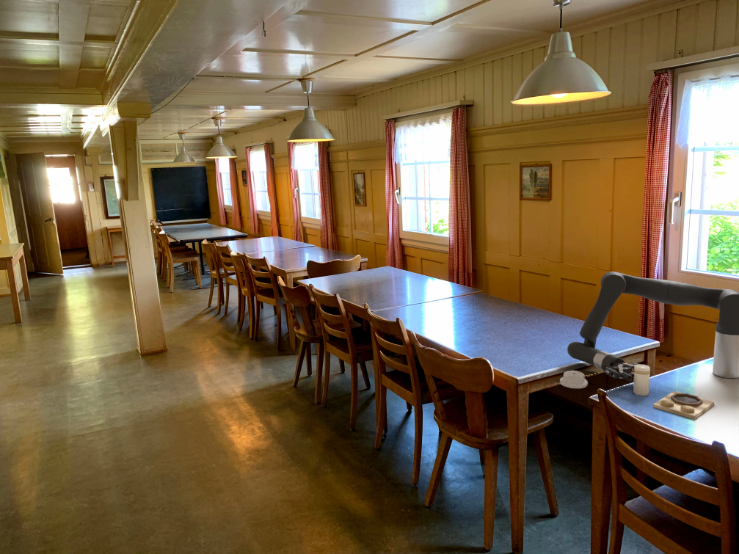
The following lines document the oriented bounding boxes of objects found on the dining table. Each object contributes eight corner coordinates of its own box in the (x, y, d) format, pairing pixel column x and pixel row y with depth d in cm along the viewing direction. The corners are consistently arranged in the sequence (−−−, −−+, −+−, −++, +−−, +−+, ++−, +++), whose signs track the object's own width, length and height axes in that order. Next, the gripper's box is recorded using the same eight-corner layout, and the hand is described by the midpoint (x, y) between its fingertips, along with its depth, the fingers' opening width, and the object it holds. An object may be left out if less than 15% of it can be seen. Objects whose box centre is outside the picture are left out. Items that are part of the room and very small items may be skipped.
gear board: (674, 394, 193) (674, 388, 192) (714, 405, 183) (714, 398, 182) (653, 407, 183) (653, 401, 183) (694, 419, 173) (695, 413, 173)
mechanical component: (559, 387, 204) (587, 390, 200) (559, 376, 203) (587, 379, 199) (560, 378, 213) (587, 380, 209) (560, 367, 212) (587, 370, 208)
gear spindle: (637, 388, 199) (638, 363, 197) (651, 392, 195) (652, 366, 193) (630, 392, 196) (631, 366, 194) (644, 396, 192) (646, 370, 190)
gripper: (593, 356, 207) (625, 370, 192) (623, 351, 211) (656, 364, 196) (593, 374, 208) (624, 389, 193) (622, 369, 213) (655, 383, 197)
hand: (640, 376), depth 195 cm, fingers open, 8 cm apart
